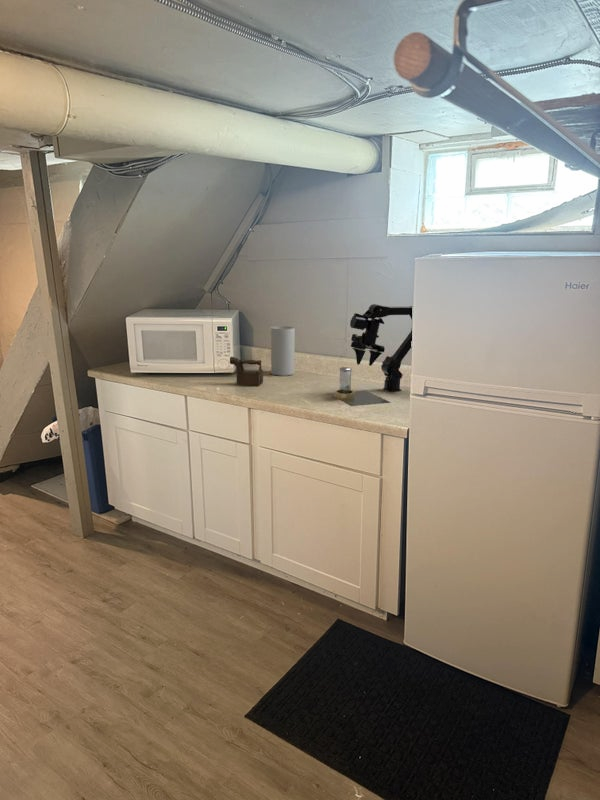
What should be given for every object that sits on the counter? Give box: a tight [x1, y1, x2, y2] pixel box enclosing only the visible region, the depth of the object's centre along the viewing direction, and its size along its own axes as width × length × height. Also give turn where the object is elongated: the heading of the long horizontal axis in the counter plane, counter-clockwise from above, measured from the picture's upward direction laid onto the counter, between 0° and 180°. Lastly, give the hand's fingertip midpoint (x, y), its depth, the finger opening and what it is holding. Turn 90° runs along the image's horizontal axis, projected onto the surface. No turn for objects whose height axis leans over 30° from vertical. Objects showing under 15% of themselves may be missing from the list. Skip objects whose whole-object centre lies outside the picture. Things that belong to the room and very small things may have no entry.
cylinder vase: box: [270, 325, 296, 377], centre depth 296 cm, size 12×12×25 cm
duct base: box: [328, 389, 392, 407], centre depth 245 cm, size 19×24×3 cm
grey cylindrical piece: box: [338, 366, 353, 394], centre depth 245 cm, size 5×5×13 cm
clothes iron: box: [229, 356, 264, 387], centre depth 273 cm, size 8×16×13 cm, turn 77°
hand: (364, 365), depth 257 cm, fingers open, 9 cm apart
